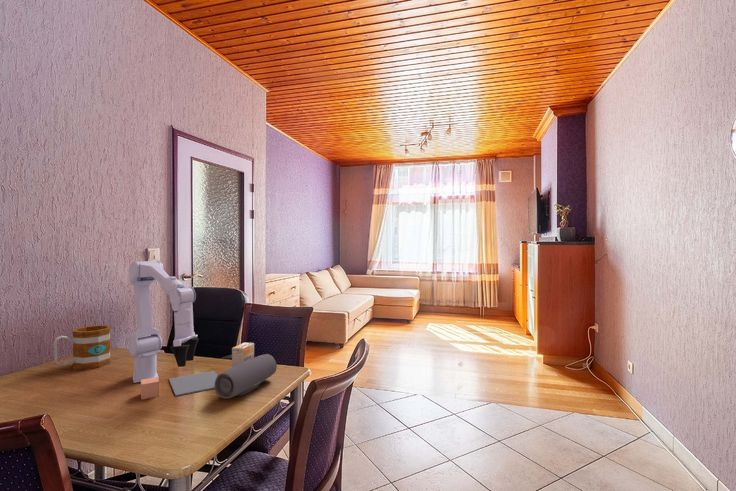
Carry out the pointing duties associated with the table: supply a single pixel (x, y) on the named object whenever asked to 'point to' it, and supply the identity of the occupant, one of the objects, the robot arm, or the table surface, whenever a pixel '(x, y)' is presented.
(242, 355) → the supplement box
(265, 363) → the bluetooth speaker
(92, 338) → the mug
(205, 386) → the gray placemat
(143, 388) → the terracotta cube
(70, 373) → the table surface
